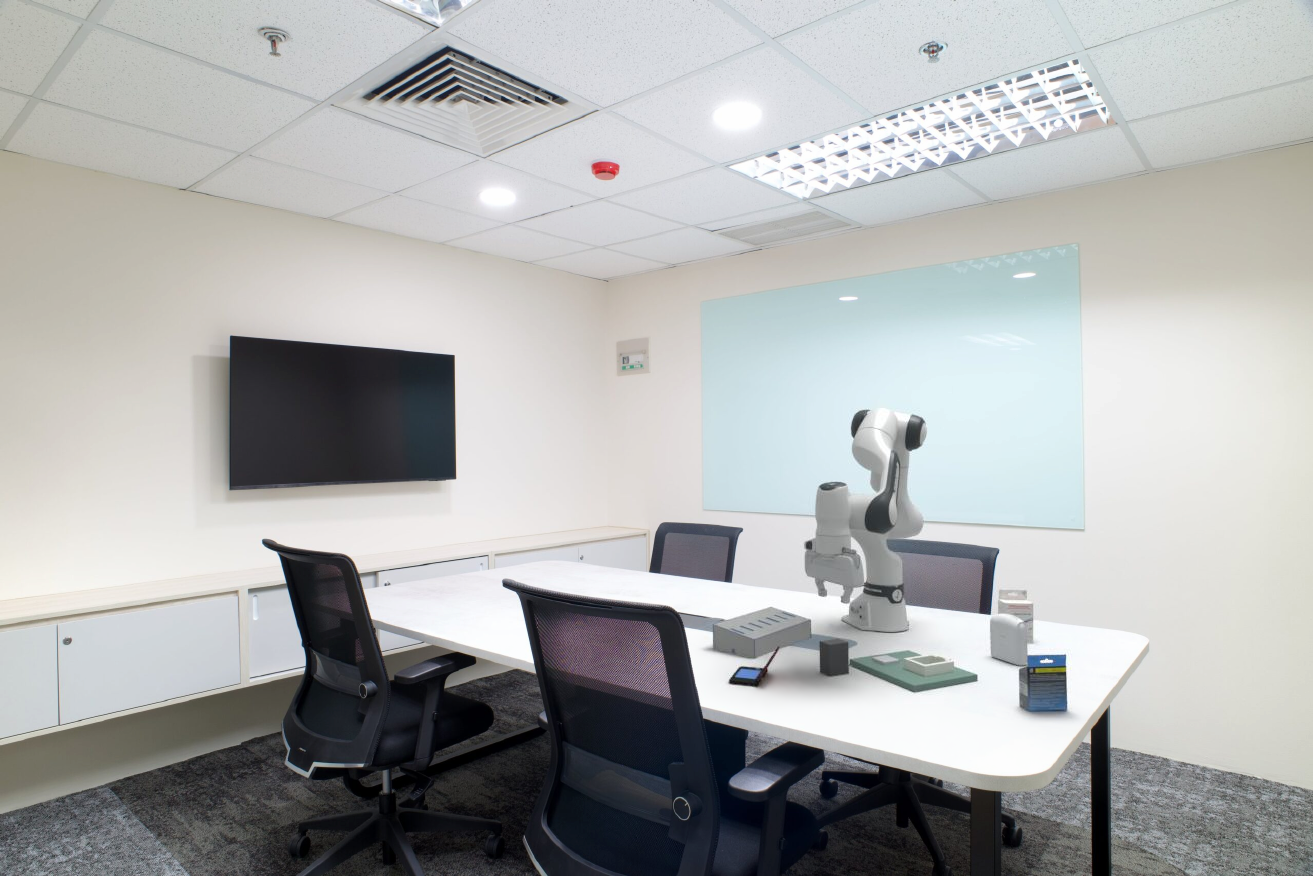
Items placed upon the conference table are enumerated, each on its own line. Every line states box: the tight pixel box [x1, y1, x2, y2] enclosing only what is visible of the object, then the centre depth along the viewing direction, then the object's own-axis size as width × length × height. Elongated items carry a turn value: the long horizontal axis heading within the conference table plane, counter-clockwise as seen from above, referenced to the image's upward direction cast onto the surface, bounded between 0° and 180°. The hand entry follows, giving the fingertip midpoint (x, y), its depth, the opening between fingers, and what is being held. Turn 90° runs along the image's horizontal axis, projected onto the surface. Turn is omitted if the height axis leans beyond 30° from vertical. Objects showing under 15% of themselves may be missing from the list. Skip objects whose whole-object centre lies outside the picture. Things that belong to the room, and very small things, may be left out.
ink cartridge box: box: [997, 588, 1034, 644], centre depth 219 cm, size 9×5×15 cm, turn 84°
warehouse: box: [712, 606, 812, 659], centre depth 219 cm, size 30×14×8 cm, turn 138°
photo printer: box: [989, 613, 1029, 666], centre depth 199 cm, size 10×4×12 cm, turn 20°
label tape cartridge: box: [1018, 653, 1068, 712], centre depth 163 cm, size 9×4×12 cm, turn 92°
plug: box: [819, 638, 850, 677], centre depth 190 cm, size 4×7×8 cm, turn 114°
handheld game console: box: [728, 646, 780, 688], centre depth 186 cm, size 12×11×7 cm
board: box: [849, 649, 978, 693], centre depth 189 cm, size 24×20×4 cm
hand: (833, 599), depth 190 cm, fingers open, 8 cm apart
